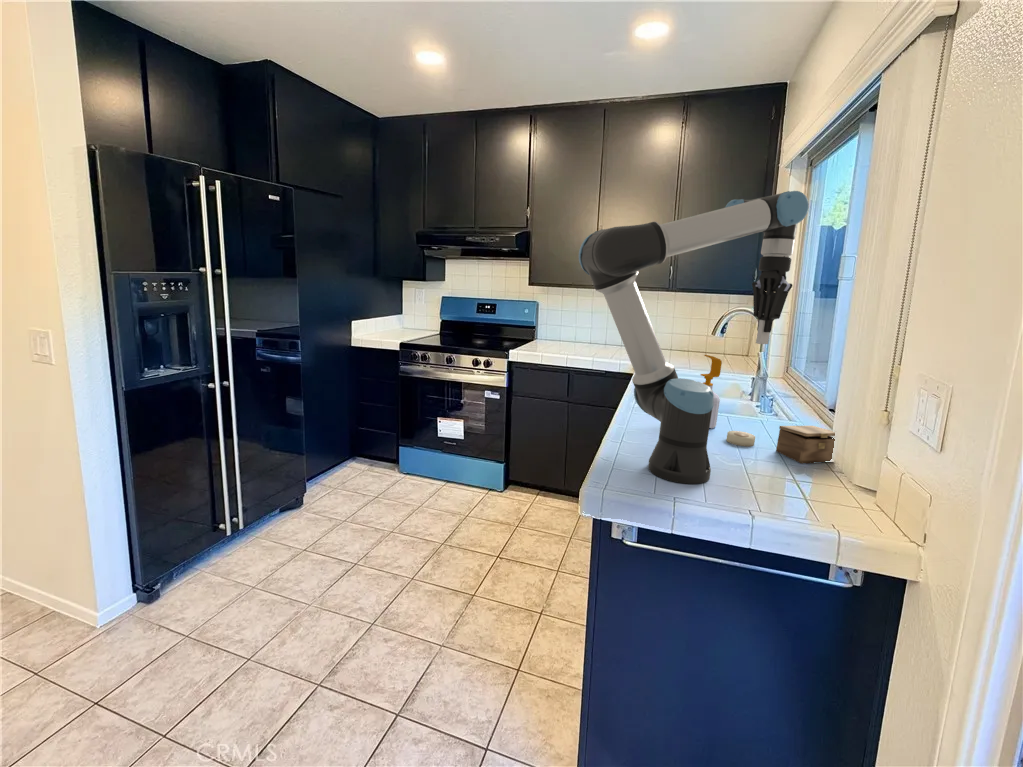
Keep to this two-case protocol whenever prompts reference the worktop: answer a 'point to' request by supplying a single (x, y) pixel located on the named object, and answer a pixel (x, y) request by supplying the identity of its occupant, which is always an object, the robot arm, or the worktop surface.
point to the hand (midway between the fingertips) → (761, 343)
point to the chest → (805, 447)
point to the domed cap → (740, 438)
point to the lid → (809, 431)
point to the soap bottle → (716, 400)
